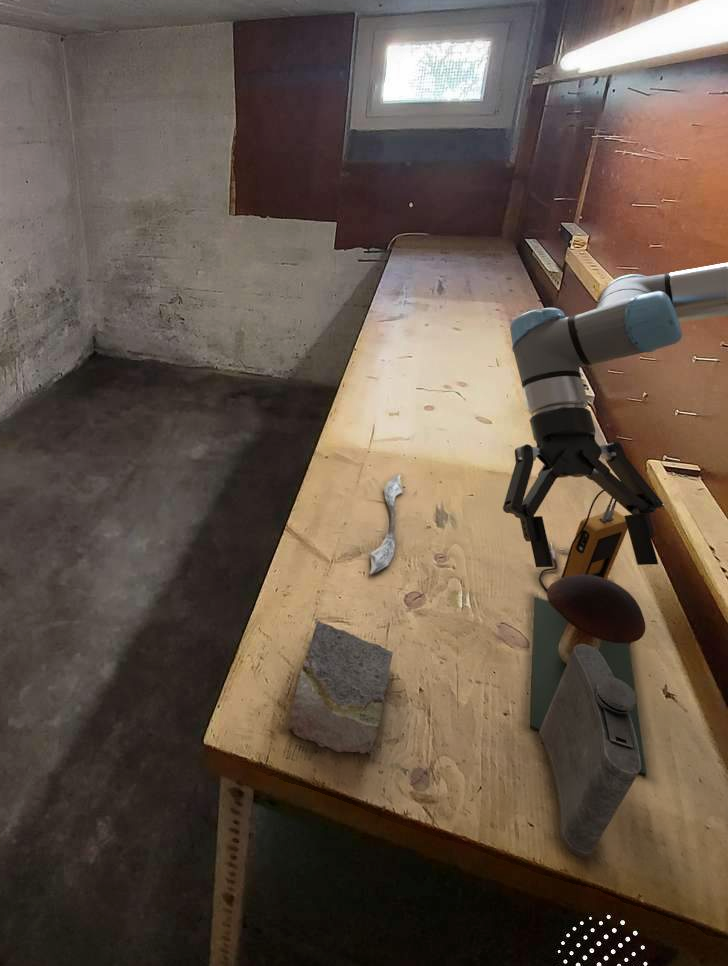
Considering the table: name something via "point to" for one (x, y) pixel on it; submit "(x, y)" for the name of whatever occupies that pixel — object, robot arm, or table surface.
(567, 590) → the decorative mushroom
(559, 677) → the mat
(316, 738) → the geological specimen
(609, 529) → the multimeter
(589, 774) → the flask
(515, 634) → the table surface
